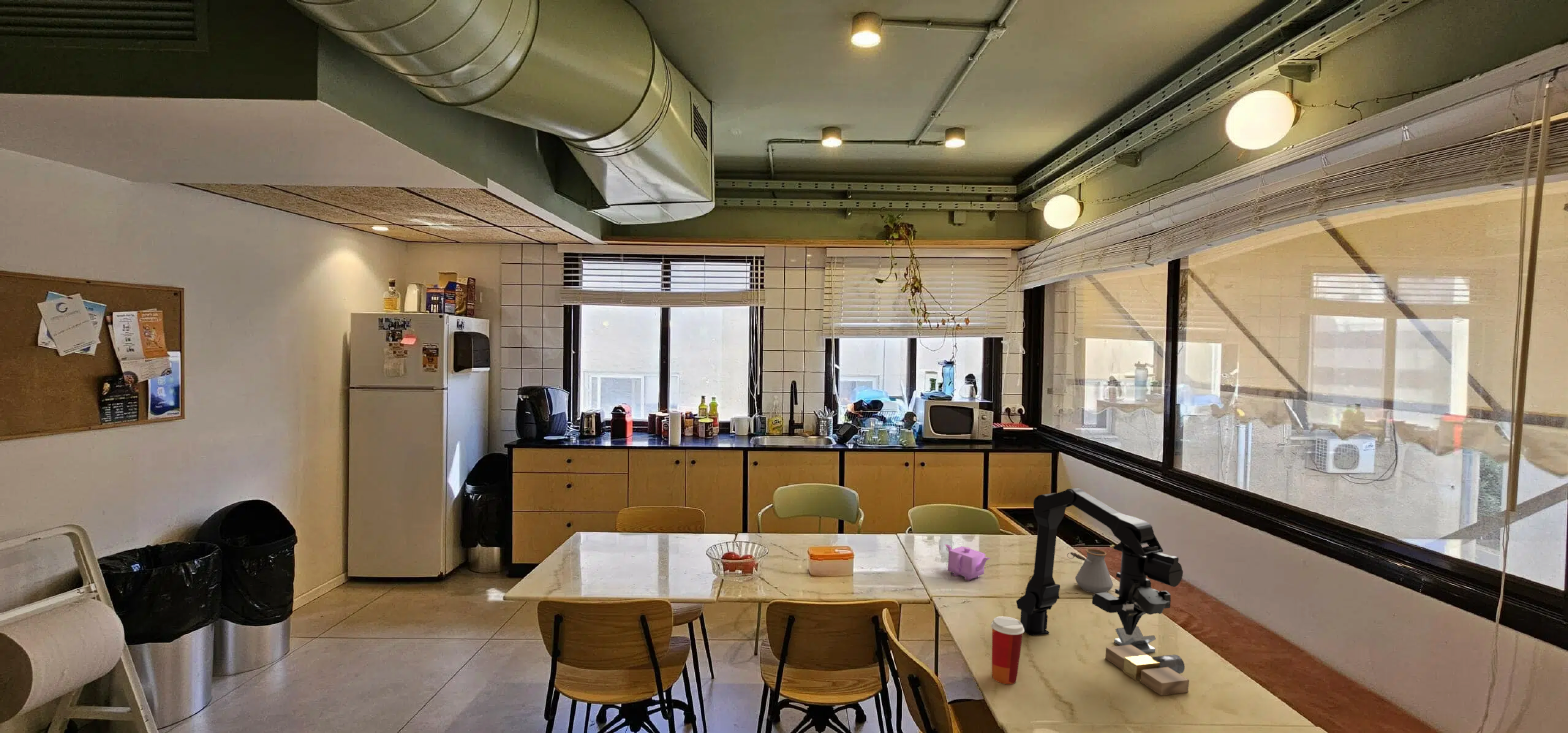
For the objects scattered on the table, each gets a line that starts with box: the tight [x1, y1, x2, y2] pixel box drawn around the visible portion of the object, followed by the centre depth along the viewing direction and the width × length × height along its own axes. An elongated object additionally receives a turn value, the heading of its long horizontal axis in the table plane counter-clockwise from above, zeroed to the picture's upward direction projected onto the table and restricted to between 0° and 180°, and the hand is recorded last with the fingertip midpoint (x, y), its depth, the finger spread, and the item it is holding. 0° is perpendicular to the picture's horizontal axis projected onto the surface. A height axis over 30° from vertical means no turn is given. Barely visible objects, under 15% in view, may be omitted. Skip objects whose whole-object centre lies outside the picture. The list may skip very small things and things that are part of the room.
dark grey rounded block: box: [1151, 654, 1186, 675], centre depth 169 cm, size 7×4×4 cm, turn 106°
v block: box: [1113, 625, 1156, 654], centre depth 183 cm, size 7×7×4 cm
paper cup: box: [990, 615, 1025, 685], centre depth 163 cm, size 8×8×14 cm
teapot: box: [944, 544, 992, 581], centre depth 232 cm, size 18×13×10 cm
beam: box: [1104, 645, 1190, 696], centre depth 168 cm, size 8×18×3 cm, turn 16°
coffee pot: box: [1066, 548, 1114, 594], centre depth 221 cm, size 21×12×15 cm, turn 125°
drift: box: [1122, 654, 1160, 681], centre depth 168 cm, size 7×4×4 cm, turn 106°
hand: (1128, 634), depth 166 cm, fingers closed
